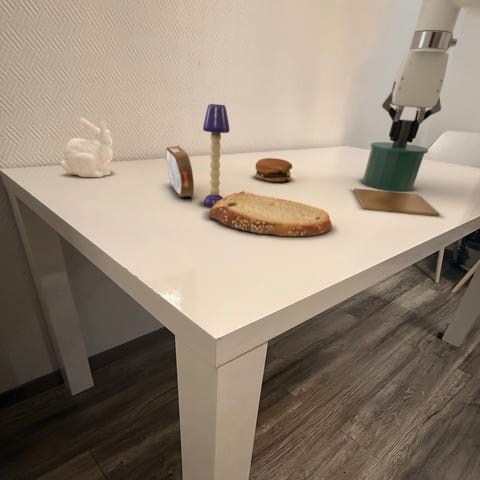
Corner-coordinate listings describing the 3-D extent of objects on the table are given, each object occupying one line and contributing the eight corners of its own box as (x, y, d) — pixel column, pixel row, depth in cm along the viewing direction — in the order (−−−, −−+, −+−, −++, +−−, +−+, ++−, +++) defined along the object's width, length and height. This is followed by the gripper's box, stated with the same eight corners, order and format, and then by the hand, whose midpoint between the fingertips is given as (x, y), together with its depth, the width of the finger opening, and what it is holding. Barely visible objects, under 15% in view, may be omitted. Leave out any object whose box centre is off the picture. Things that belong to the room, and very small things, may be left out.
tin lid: (417, 149, 88) (427, 119, 84) (434, 158, 77) (446, 124, 73) (365, 145, 89) (373, 116, 85) (375, 154, 78) (384, 120, 74)
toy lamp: (203, 200, 68) (202, 102, 58) (226, 200, 68) (229, 104, 58) (203, 207, 64) (202, 104, 54) (228, 208, 64) (231, 106, 54)
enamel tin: (405, 181, 92) (416, 147, 87) (418, 193, 82) (431, 155, 77) (359, 177, 93) (368, 143, 88) (367, 188, 83) (377, 151, 78)
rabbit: (115, 170, 84) (107, 115, 77) (121, 179, 78) (112, 119, 71) (63, 171, 80) (49, 113, 73) (63, 181, 73) (48, 118, 66)
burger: (255, 173, 90) (257, 154, 87) (289, 176, 90) (292, 157, 87) (253, 182, 82) (255, 161, 79) (291, 185, 82) (294, 164, 79)
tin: (195, 202, 66) (194, 155, 61) (179, 202, 65) (177, 155, 60) (180, 183, 78) (178, 142, 73) (166, 183, 77) (163, 142, 72)
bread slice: (340, 230, 57) (345, 209, 55) (254, 248, 49) (256, 224, 47) (277, 201, 69) (279, 183, 67) (200, 212, 61) (199, 191, 59)
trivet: (417, 196, 80) (417, 194, 79) (438, 216, 67) (439, 213, 67) (353, 190, 81) (354, 188, 80) (363, 209, 69) (364, 206, 68)
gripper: (462, 48, 73) (430, 141, 84) (386, 44, 75) (364, 136, 85) (477, 45, 67) (440, 146, 78) (394, 40, 69) (369, 140, 79)
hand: (400, 140), depth 82 cm, fingers closed on tin lid, 3 cm apart
